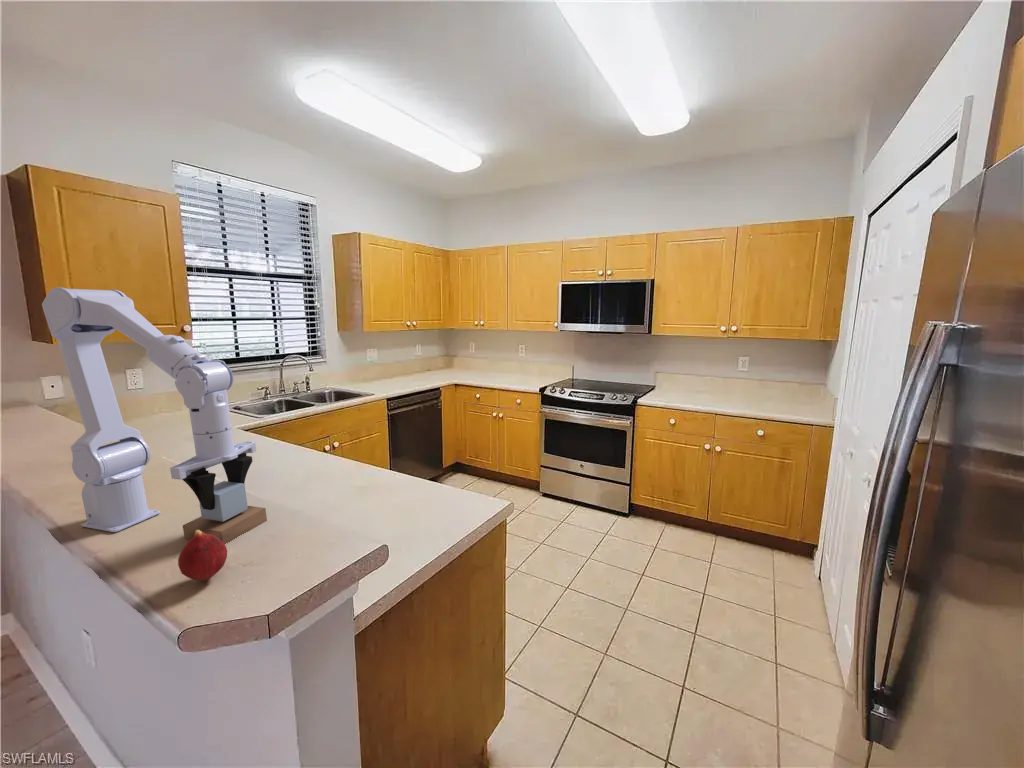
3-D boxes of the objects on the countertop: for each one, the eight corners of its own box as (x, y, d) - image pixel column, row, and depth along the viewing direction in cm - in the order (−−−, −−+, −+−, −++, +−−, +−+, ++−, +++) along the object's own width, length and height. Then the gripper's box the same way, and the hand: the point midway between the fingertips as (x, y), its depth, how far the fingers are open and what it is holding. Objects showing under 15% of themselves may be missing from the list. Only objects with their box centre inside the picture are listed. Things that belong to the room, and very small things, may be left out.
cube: (201, 518, 76) (197, 491, 75) (227, 505, 81) (223, 480, 80) (223, 521, 74) (219, 495, 74) (247, 508, 79) (244, 483, 78)
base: (185, 540, 75) (182, 525, 75) (231, 517, 84) (229, 503, 83) (223, 547, 73) (221, 531, 72) (267, 522, 81) (265, 508, 81)
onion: (238, 567, 66) (231, 520, 65) (214, 591, 60) (205, 540, 59) (200, 569, 66) (192, 521, 65) (172, 593, 60) (163, 541, 59)
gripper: (188, 443, 67) (200, 523, 69) (264, 420, 81) (273, 487, 83) (156, 440, 69) (169, 518, 71) (236, 418, 83) (245, 484, 85)
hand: (223, 501), depth 77 cm, fingers closed on cube, 5 cm apart
